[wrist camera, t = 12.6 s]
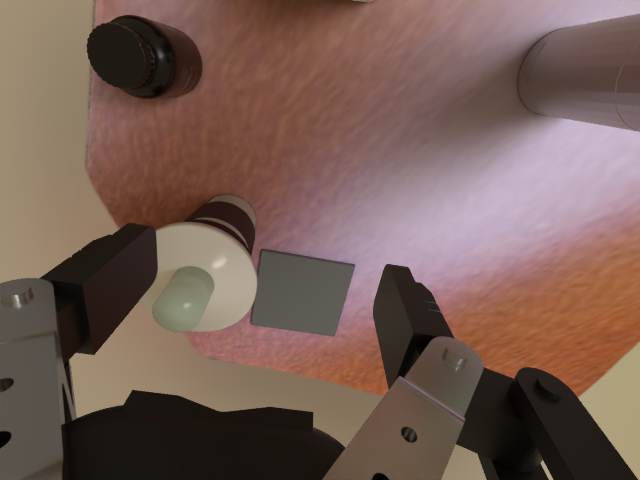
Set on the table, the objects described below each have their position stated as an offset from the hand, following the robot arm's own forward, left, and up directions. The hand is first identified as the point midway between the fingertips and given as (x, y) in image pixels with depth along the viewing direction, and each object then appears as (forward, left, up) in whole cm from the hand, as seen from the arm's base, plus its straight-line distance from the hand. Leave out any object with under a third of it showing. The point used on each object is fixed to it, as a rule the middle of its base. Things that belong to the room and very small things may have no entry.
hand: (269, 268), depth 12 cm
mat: (-5, +25, -33) cm, 42 cm away
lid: (+7, +14, -18) cm, 24 cm away
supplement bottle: (+15, -4, -33) cm, 37 cm away
